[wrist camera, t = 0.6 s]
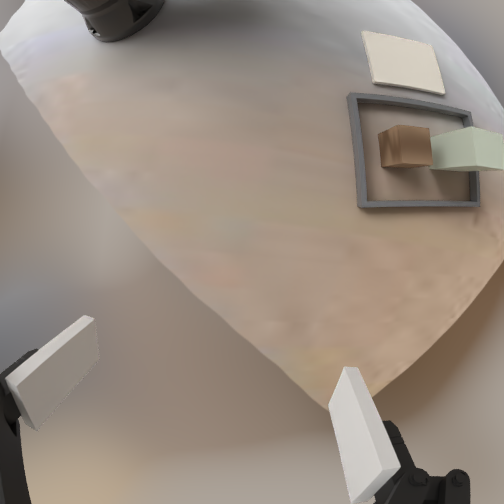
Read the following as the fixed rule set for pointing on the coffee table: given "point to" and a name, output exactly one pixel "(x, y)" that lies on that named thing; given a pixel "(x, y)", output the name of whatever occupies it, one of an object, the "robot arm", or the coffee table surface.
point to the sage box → (468, 150)
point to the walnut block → (405, 147)
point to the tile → (402, 63)
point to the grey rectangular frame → (359, 153)
